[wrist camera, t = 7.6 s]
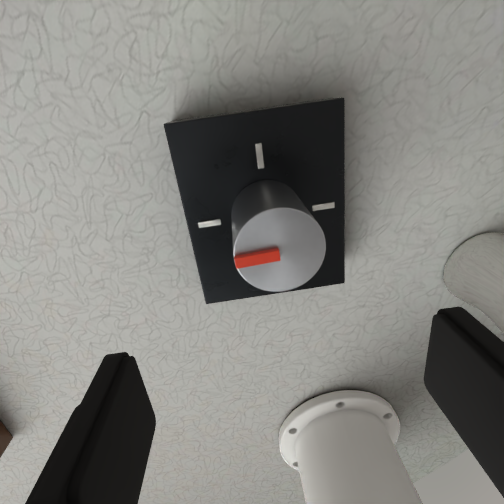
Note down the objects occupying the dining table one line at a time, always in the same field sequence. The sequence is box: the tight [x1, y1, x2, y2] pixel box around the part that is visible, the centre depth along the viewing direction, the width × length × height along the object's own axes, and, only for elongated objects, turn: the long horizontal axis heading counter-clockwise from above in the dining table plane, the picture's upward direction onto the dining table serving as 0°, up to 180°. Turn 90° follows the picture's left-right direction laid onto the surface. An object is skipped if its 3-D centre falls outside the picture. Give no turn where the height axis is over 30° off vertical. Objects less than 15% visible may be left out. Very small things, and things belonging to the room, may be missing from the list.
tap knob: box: [231, 180, 326, 292], centre depth 17 cm, size 4×4×6 cm
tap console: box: [164, 98, 345, 304], centre depth 21 cm, size 12×10×3 cm
